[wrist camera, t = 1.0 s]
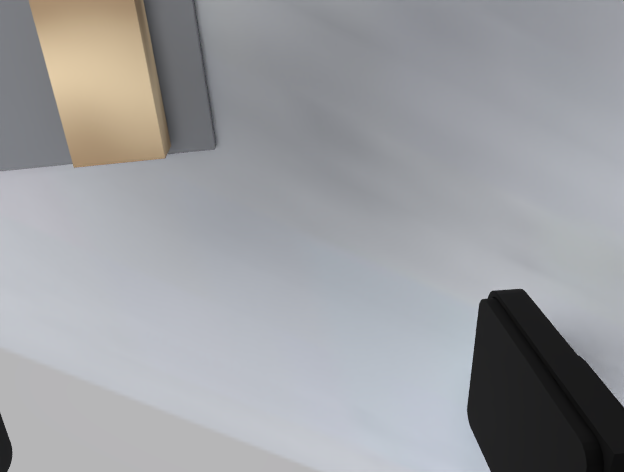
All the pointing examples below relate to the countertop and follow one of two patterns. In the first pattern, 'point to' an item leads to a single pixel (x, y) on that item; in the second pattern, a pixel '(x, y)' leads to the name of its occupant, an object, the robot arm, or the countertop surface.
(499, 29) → the countertop surface
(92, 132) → the oak link
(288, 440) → the countertop surface
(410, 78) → the countertop surface
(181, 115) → the charcoal mat
